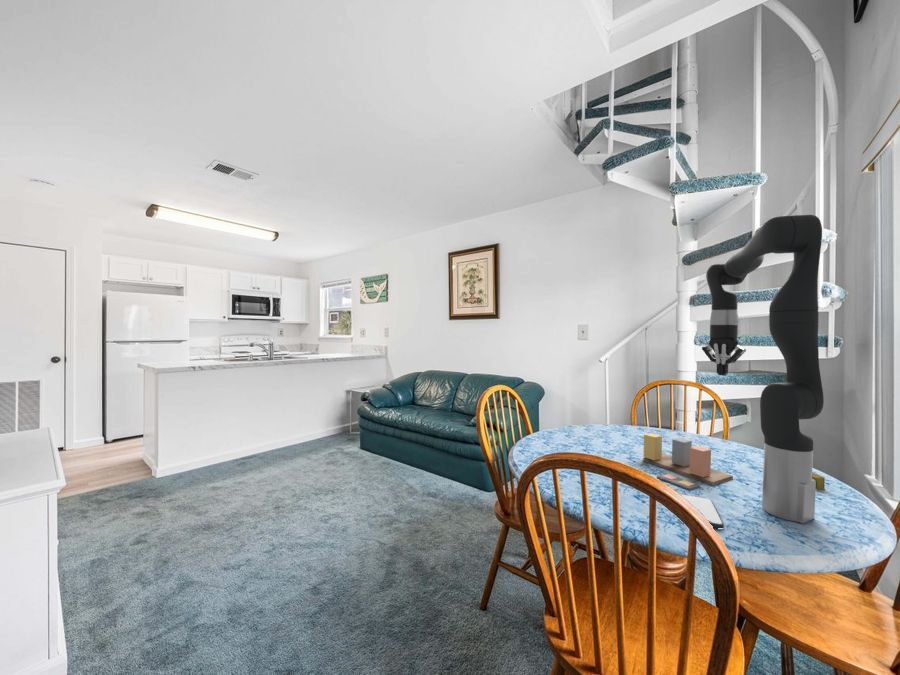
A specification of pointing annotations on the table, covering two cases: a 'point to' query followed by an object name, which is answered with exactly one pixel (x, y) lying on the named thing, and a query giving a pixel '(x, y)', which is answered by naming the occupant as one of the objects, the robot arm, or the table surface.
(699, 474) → the salmon pink block
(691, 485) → the card
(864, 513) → the table surface
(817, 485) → the medication box
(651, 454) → the yellow tall block
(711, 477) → the keypad base
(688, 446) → the grey rectangular block
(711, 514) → the phone case
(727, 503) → the table surface
